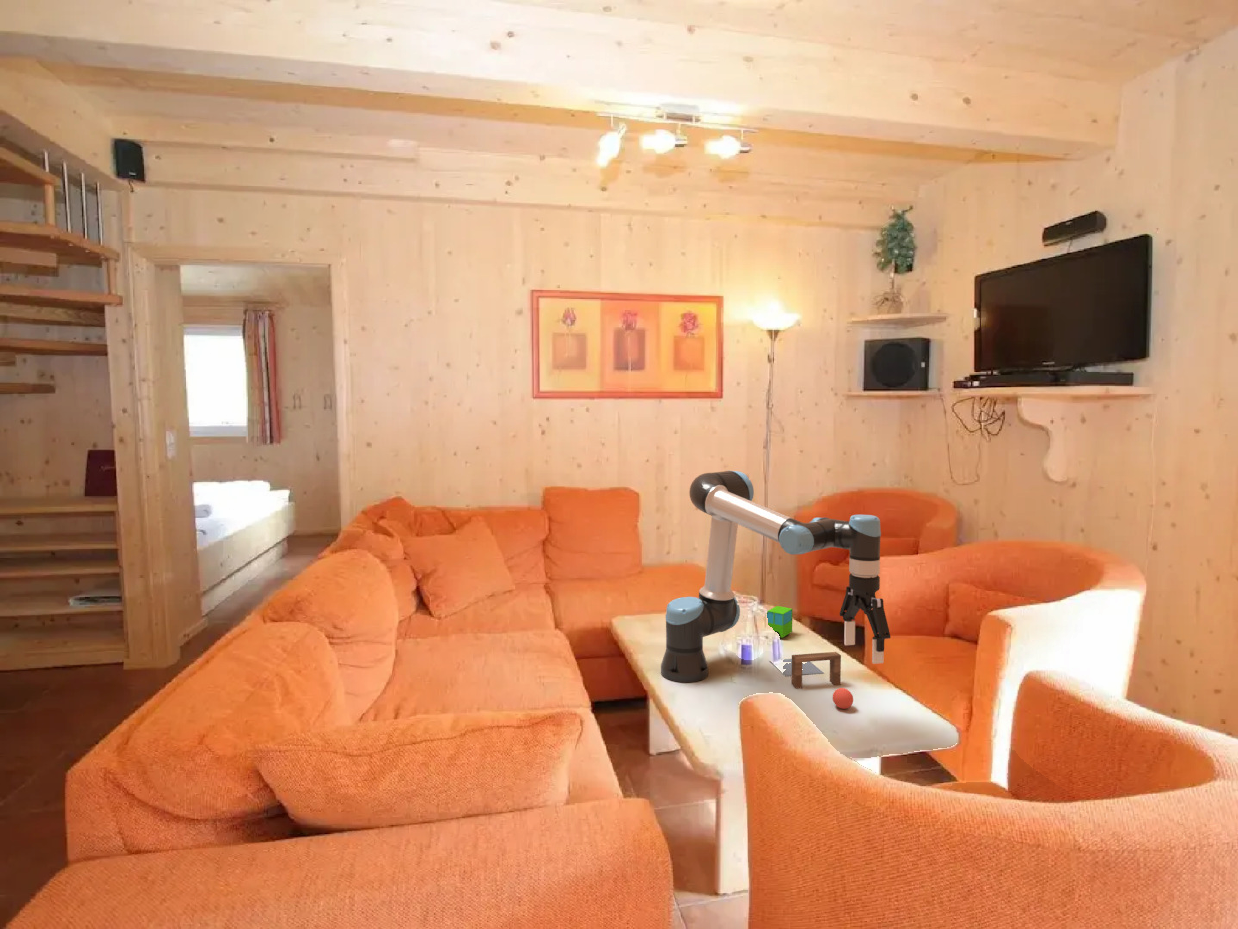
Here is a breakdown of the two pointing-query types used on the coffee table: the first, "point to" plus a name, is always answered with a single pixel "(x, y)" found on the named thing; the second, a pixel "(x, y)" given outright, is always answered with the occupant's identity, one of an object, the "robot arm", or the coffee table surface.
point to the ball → (842, 698)
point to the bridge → (832, 656)
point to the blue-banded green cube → (780, 620)
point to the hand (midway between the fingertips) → (863, 653)
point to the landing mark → (807, 668)
